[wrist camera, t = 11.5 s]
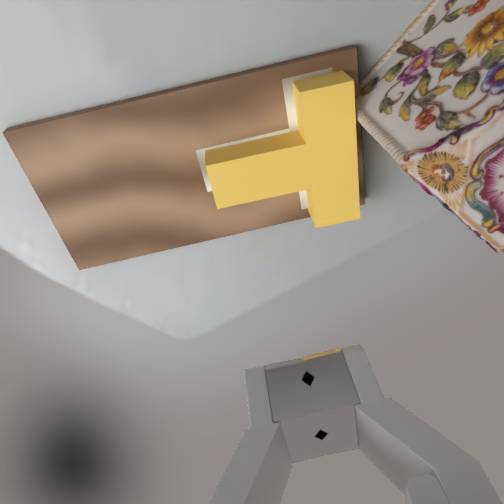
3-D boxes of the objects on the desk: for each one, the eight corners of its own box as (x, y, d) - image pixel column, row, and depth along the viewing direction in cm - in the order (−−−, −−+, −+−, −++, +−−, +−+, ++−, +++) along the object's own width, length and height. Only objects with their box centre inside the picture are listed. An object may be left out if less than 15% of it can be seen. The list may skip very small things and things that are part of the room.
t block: (192, 103, 35) (192, 116, 32) (342, 70, 35) (354, 80, 32) (225, 229, 42) (227, 247, 39) (350, 201, 42) (360, 218, 39)
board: (6, 128, 35) (2, 132, 34) (352, 45, 35) (356, 47, 34) (81, 263, 43) (79, 270, 43) (361, 198, 43) (365, 204, 42)
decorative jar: (528, 74, 38) (738, 163, 23) (422, 175, 43) (542, 301, 28) (448, -29, 33) (654, 2, 18) (336, 98, 37) (430, 205, 23)
